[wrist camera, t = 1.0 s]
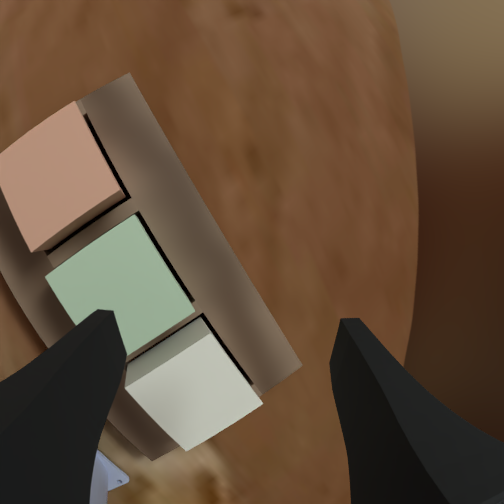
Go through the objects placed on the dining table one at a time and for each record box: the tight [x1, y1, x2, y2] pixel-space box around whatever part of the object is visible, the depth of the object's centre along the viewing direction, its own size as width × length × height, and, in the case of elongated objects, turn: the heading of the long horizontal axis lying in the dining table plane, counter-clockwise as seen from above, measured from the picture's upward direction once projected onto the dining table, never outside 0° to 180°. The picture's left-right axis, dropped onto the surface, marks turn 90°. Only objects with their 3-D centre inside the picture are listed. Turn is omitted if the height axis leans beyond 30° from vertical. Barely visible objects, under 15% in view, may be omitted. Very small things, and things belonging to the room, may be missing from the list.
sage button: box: [45, 214, 195, 356], centre depth 17 cm, size 6×6×4 cm
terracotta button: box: [0, 101, 126, 253], centre depth 15 cm, size 6×6×4 cm
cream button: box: [125, 317, 263, 451], centre depth 18 cm, size 6×6×4 cm
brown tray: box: [0, 73, 302, 461], centre depth 19 cm, size 14×24×2 cm, turn 31°
